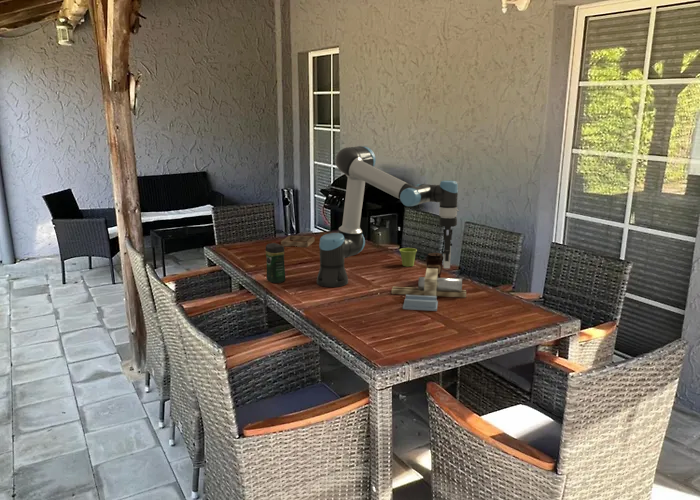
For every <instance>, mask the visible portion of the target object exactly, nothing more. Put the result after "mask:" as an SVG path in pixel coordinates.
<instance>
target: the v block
mask: <svg viewBox="0 0 700 500" xmlns="http://www.w3.org/2000/svg"><path fill="white" fill-rule="evenodd" d="M437 298H438V296H426V295H407V294H405V298H404V302H403V305H402V310H412V311H413V310H415V311H431V312H432V311H433V312H438V306H439V300H437Z"/></svg>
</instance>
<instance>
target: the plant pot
mask: <svg viewBox="0 0 700 500" xmlns="http://www.w3.org/2000/svg"><path fill="white" fill-rule="evenodd" d="M399 252H400V256H401V264H402V265H401V266H403V267H407V268H408V267H414V266H415V259H416V254H417V252H418V250H417V248H414V247H403V248H400V249H399Z"/></svg>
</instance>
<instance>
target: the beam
mask: <svg viewBox="0 0 700 500" xmlns="http://www.w3.org/2000/svg"><path fill="white" fill-rule="evenodd" d="M424 277H425V281H424V290H418V287H408V286H392V288H391V294H393V295H406V294H407V295H426V296H437V297H448V298H449V297H450V298H467V290H466V289H462V292H446V291H436V285H437V278H438V269H434V268H427V267H426V270H425V276H424Z"/></svg>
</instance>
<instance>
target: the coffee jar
mask: <svg viewBox="0 0 700 500" xmlns="http://www.w3.org/2000/svg"><path fill="white" fill-rule="evenodd" d="M265 256H266V257H265V258H266V280H267V281H268V282H270V283H273V284H275V283H276V284H277V283H278V284H280V283H283V282H285V281H286V267H285V246H282V245H281V244H279V243H275V242H270V243H267V244H266V246H265Z"/></svg>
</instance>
